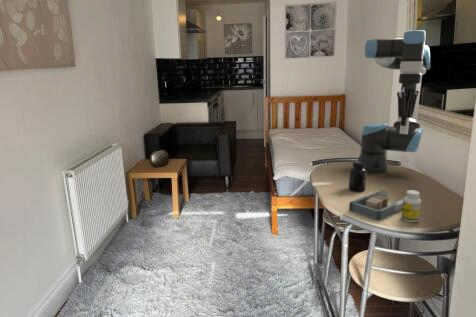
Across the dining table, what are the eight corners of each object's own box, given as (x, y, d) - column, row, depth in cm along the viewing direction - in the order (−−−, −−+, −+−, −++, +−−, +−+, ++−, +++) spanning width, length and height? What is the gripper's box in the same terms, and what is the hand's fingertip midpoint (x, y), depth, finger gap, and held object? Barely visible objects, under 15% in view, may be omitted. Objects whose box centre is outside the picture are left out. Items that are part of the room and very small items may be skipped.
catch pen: (365, 203, 137) (366, 195, 136) (395, 212, 128) (396, 204, 127) (349, 210, 130) (349, 202, 129) (379, 220, 121) (380, 212, 121)
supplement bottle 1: (366, 192, 148) (368, 164, 145) (349, 191, 149) (351, 163, 146) (364, 187, 155) (366, 160, 152) (347, 186, 156) (349, 159, 153)
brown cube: (377, 205, 135) (378, 195, 134) (387, 208, 132) (388, 198, 131) (371, 207, 132) (372, 197, 131) (381, 211, 129) (382, 200, 128)
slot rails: (382, 195, 144) (382, 190, 144) (412, 204, 135) (412, 198, 135) (362, 204, 136) (363, 197, 135) (393, 213, 127) (393, 207, 126)
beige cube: (371, 207, 132) (372, 197, 131) (381, 211, 129) (382, 200, 128) (365, 210, 130) (366, 200, 129) (375, 214, 127) (376, 203, 126)
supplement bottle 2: (398, 216, 125) (401, 189, 122) (413, 215, 125) (416, 189, 123) (406, 222, 119) (410, 195, 117) (422, 222, 120) (425, 194, 117)
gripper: (408, 72, 145) (402, 130, 150) (392, 73, 137) (386, 134, 142) (428, 72, 139) (420, 133, 145) (411, 73, 131) (404, 137, 137)
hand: (403, 133), depth 144 cm, fingers closed
